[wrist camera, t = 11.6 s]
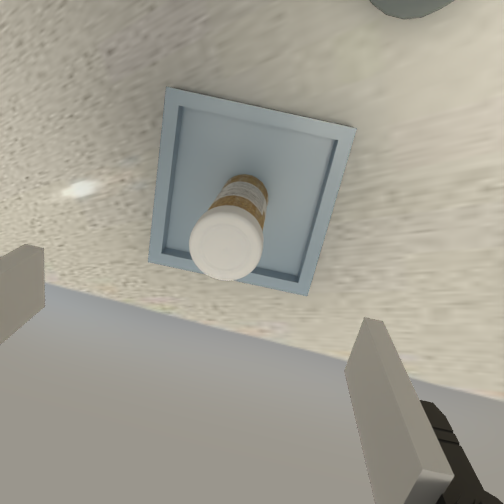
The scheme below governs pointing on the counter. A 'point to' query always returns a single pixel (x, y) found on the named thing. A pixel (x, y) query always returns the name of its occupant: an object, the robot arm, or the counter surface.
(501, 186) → the counter surface
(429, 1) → the spray bottle
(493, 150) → the counter surface
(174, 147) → the tray
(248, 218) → the sprinkles bottle
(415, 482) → the robot arm
